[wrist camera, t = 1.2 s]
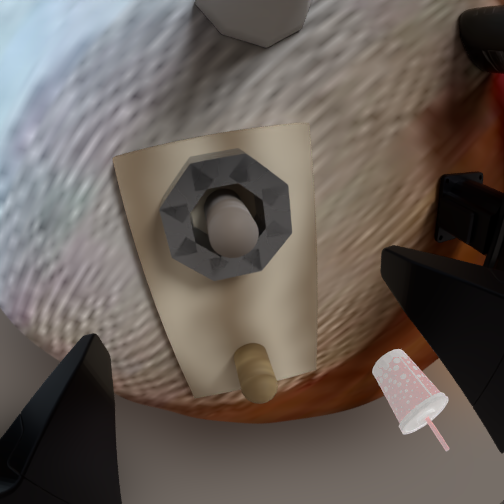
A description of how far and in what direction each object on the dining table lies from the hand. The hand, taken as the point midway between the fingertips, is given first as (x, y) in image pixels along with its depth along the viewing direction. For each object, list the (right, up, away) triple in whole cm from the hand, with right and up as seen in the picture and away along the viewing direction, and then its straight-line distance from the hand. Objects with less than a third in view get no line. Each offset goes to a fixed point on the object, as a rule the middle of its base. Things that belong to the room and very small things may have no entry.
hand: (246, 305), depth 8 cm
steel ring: (-2, +4, +10) cm, 11 cm away
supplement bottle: (+22, +22, +8) cm, 32 cm away
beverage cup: (+16, -12, +24) cm, 31 cm away
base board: (-1, -1, +14) cm, 14 cm away
